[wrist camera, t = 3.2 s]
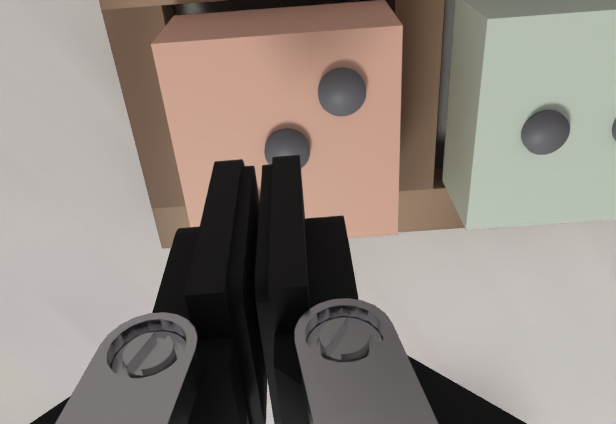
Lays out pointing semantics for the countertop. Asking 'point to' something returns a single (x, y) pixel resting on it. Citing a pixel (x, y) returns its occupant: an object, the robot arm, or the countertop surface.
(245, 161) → the tile three
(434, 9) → the board
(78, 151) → the countertop surface
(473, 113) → the tile two
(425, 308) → the countertop surface
